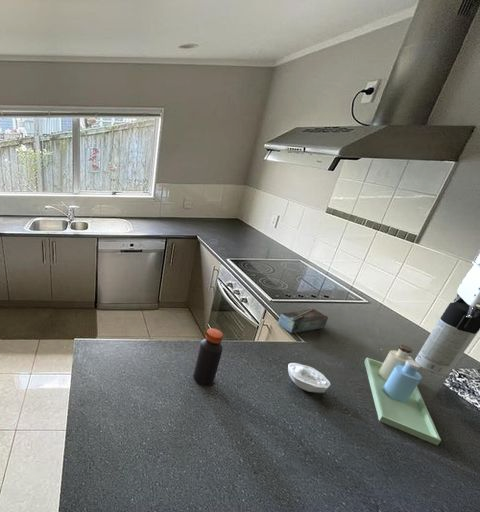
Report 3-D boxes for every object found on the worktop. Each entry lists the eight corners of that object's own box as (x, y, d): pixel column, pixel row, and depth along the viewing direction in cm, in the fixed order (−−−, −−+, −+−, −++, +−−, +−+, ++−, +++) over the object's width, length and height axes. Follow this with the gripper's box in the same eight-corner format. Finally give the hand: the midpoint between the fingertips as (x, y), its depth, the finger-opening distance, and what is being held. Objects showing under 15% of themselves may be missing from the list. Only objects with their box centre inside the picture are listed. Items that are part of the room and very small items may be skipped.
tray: (407, 377, 102) (410, 372, 101) (436, 446, 78) (441, 440, 77) (363, 362, 108) (366, 357, 107) (378, 422, 85) (381, 416, 84)
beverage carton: (276, 323, 130) (280, 311, 128) (309, 318, 135) (313, 307, 132) (290, 333, 123) (295, 321, 121) (324, 328, 127) (330, 316, 125)
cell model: (323, 405, 90) (331, 390, 87) (280, 384, 97) (286, 369, 94) (326, 386, 97) (334, 372, 94) (286, 368, 104) (292, 354, 101)
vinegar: (196, 368, 102) (206, 323, 94) (215, 377, 98) (228, 331, 91) (190, 380, 97) (201, 334, 89) (210, 390, 93) (223, 342, 86)
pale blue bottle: (404, 393, 95) (424, 362, 89) (409, 405, 90) (430, 373, 85) (380, 384, 98) (398, 353, 92) (384, 395, 93) (403, 364, 88)
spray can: (456, 376, 77) (499, 315, 69) (431, 375, 77) (472, 314, 69) (430, 359, 83) (467, 301, 75) (407, 358, 83) (441, 300, 75)
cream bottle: (398, 376, 101) (416, 346, 96) (402, 387, 97) (421, 356, 92) (376, 368, 105) (392, 339, 99) (379, 378, 100) (396, 348, 95)
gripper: (548, 280, 58) (498, 348, 65) (505, 256, 71) (467, 314, 78) (492, 270, 62) (450, 335, 69) (461, 249, 75) (428, 305, 82)
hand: (459, 323), depth 74 cm, fingers closed on spray can, 6 cm apart
